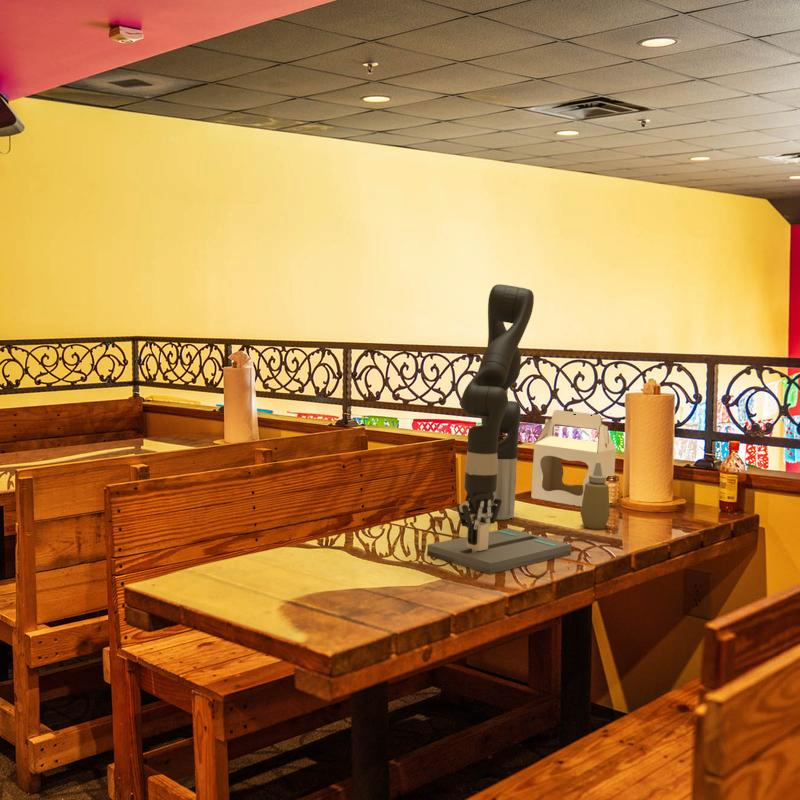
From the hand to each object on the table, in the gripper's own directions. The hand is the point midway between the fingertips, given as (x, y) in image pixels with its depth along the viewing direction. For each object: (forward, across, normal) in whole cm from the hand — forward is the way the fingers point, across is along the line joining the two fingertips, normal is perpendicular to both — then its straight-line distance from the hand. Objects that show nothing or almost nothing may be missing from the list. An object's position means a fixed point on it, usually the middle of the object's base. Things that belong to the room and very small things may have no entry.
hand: (477, 542), depth 229 cm
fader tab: (+3, 0, 0) cm, 3 cm away
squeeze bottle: (+4, -54, -4) cm, 54 cm away
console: (+4, -8, 0) cm, 9 cm away
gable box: (+4, -78, -30) cm, 84 cm away
